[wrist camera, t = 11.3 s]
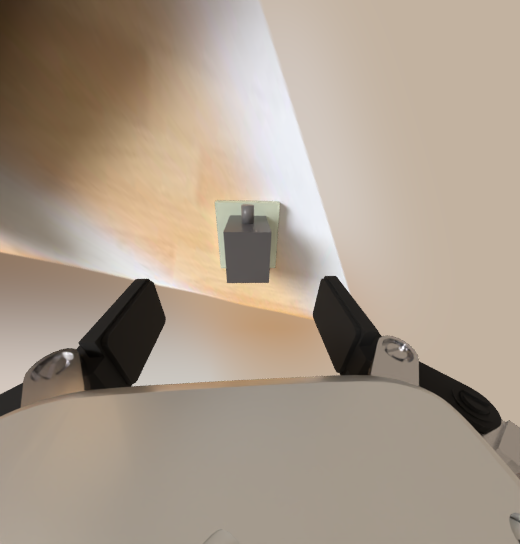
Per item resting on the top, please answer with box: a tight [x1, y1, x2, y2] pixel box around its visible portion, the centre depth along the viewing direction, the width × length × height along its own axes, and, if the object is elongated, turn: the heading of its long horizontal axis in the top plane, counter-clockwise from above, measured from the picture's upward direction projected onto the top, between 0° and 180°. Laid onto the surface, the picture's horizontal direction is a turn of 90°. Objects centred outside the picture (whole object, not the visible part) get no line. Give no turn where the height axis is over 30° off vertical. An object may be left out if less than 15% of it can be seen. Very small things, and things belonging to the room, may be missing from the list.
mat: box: [215, 200, 280, 268], centre depth 22 cm, size 8×7×1 cm
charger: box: [223, 204, 272, 283], centre depth 19 cm, size 7×4×6 cm, turn 179°
